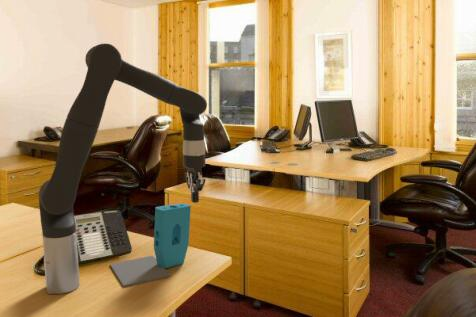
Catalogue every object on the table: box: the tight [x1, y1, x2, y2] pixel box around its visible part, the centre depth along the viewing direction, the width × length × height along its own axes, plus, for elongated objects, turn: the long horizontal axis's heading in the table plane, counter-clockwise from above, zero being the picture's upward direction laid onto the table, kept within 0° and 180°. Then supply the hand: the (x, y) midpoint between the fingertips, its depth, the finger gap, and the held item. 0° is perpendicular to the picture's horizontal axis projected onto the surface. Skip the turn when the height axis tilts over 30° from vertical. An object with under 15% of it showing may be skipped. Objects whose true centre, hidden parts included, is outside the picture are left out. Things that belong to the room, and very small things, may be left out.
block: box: [153, 202, 192, 269], centre depth 144 cm, size 12×5×20 cm, turn 135°
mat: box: [109, 255, 171, 288], centre depth 140 cm, size 15×18×1 cm
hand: (195, 202), depth 146 cm, fingers closed
